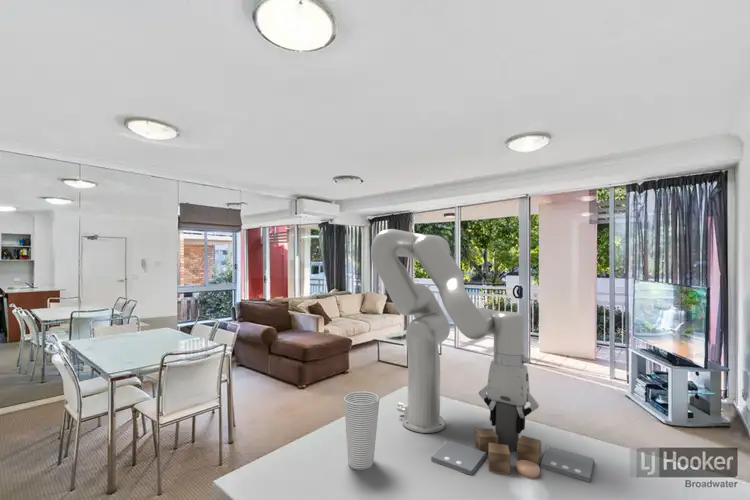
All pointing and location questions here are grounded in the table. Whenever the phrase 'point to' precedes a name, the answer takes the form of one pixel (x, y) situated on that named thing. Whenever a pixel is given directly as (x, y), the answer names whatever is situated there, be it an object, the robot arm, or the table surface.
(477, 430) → the block
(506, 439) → the bottle
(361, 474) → the table surface
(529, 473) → the peach glossy rounded part
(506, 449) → the block
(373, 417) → the cup
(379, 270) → the robot arm
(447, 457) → the pad two
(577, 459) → the pad three
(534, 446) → the block
